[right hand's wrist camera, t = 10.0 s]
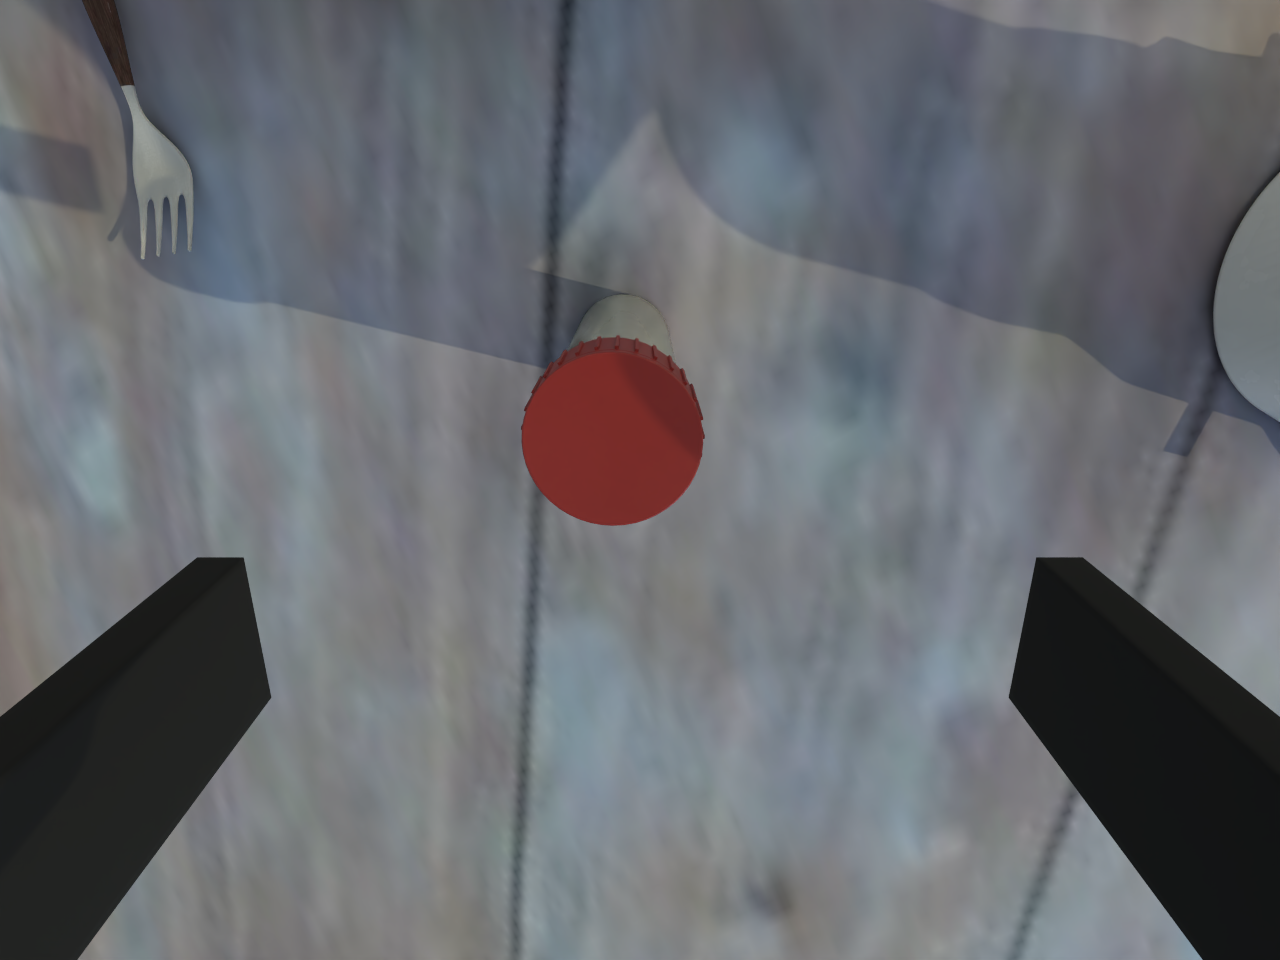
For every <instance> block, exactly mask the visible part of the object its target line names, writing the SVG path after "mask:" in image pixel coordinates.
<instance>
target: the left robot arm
mask: <svg viewBox="0 0 1280 960" xmlns="http://www.w3.org/2000/svg"><path fill="white" fill-rule="evenodd" d="M1213 326H1214V336H1215V341H1216V346H1217V350H1218V354H1219V357H1220V360H1221V362H1222V365H1223V367H1224V369H1225V371H1226V373H1227V375H1228V377H1229V379H1230V380H1231V382H1232V383H1233V385H1234V386H1235V387H1236V389H1237V390H1238V391H1239V392H1240V393H1241V394H1242V395H1243V396H1244V398H1246V399H1247V400H1248V401H1249V402H1250V403H1251V404H1252V405H1254V406H1255V407H1256V408H1258V409H1259V410H1261V411H1263V412H1264V413H1266V414H1267V415H1269V416H1271V417H1272V418H1274V419H1275V420H1277V421H1278V422H1280V172H1279V173H1278V174H1277V175H1276V177H1275V178H1274V179H1273V180H1272V181H1271V182H1270V183H1269V184H1268V185H1267V186H1266V188H1265V189H1264V190H1263V191H1262V193H1261V194H1260V195H1259V196H1258V198H1257V199H1256V200H1255V202H1254V203H1253V205H1252V206H1251V207H1250V209H1249V210H1248V212H1247V213H1246V215H1245V217H1244V218H1243V220H1242V221H1241V223H1240V225H1239V227H1238V229H1237V230H1236V232H1235V234H1234V236H1233V238H1232V240H1231V243H1230V245H1229V247H1228V250H1227V252H1226V254H1225V257H1224V260H1223V263H1222V266H1221V269H1220V273H1219V277H1218V280H1217V285H1216V290H1215V298H1214V309H1213Z"/></svg>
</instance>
